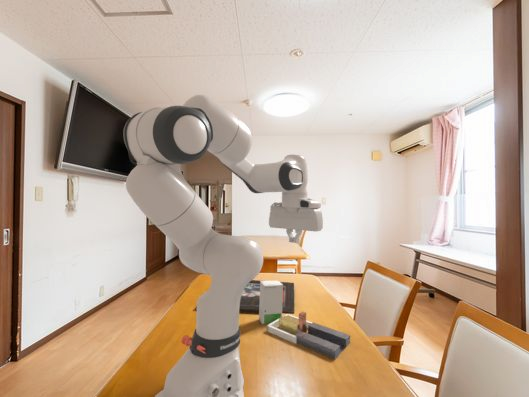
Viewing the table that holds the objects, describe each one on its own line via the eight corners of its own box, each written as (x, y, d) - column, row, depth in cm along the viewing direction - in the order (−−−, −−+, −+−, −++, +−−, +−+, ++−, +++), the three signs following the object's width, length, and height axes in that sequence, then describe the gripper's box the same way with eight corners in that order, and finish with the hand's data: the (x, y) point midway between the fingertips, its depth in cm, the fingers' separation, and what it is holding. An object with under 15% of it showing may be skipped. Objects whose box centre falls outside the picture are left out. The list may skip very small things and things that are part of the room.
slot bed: (335, 362, 76) (335, 350, 76) (295, 345, 85) (295, 334, 85) (350, 345, 85) (350, 335, 85) (312, 331, 94) (313, 322, 94)
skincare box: (262, 326, 97) (263, 285, 98) (258, 318, 104) (259, 280, 104) (282, 324, 99) (283, 284, 100) (277, 316, 106) (278, 279, 106)
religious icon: (218, 282, 151) (218, 277, 151) (293, 286, 147) (294, 281, 147) (193, 311, 111) (193, 304, 111) (295, 318, 107) (296, 311, 107)
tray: (295, 346, 84) (296, 337, 84) (266, 333, 92) (266, 325, 92) (314, 331, 94) (315, 323, 94) (287, 321, 102) (287, 313, 102)
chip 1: (287, 333, 91) (287, 322, 92) (278, 329, 94) (278, 318, 94) (293, 329, 95) (293, 318, 95) (284, 325, 97) (285, 315, 97)
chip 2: (297, 337, 89) (297, 325, 89) (287, 333, 91) (287, 322, 92) (303, 332, 92) (303, 321, 92) (293, 329, 95) (293, 318, 95)
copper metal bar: (300, 337, 88) (301, 315, 88) (297, 335, 89) (297, 314, 89) (307, 332, 91) (307, 311, 91) (303, 330, 92) (303, 310, 92)
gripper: (265, 202, 92) (264, 240, 92) (316, 202, 79) (315, 247, 79) (275, 202, 97) (275, 238, 96) (325, 203, 84) (324, 244, 83)
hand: (293, 242), depth 87 cm, fingers closed
